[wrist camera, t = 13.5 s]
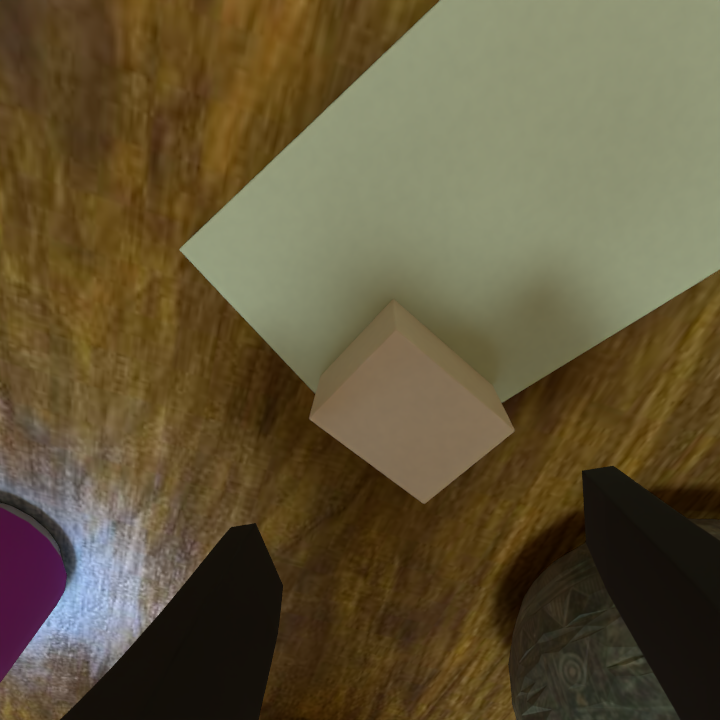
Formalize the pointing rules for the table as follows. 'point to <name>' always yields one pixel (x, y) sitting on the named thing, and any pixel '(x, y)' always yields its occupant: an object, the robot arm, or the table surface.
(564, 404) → the table surface
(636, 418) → the table surface
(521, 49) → the runner
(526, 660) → the dark green rounded piece
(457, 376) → the block
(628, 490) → the robot arm
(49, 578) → the beverage can
